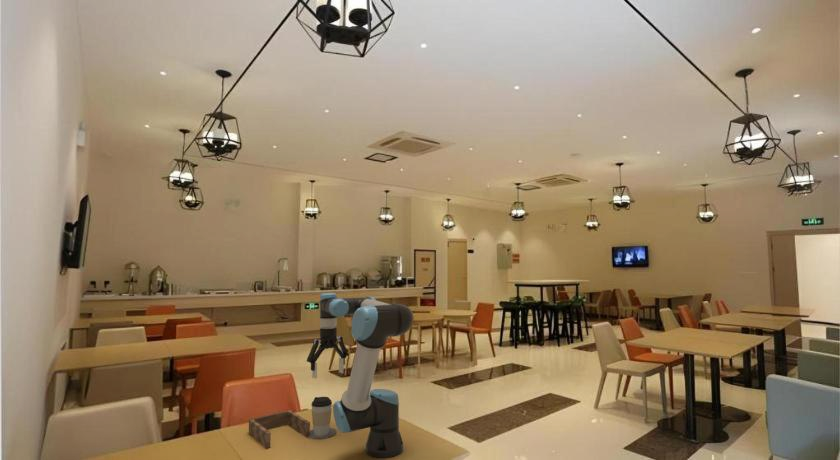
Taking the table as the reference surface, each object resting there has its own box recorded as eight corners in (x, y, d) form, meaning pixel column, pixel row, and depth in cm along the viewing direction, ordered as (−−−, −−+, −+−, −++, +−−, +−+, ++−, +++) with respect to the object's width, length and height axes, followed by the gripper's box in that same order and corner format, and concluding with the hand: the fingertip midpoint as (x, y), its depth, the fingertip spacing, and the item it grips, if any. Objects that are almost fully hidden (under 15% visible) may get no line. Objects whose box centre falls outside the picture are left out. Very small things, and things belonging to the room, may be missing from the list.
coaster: (340, 434, 189) (340, 432, 189) (316, 441, 181) (316, 440, 181) (327, 426, 198) (327, 425, 198) (303, 433, 190) (303, 431, 190)
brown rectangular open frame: (309, 436, 187) (309, 422, 187) (266, 448, 174) (267, 433, 175) (289, 422, 203) (289, 409, 203) (248, 433, 191) (248, 419, 191)
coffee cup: (335, 429, 192) (335, 395, 194) (326, 437, 184) (326, 401, 185) (316, 428, 194) (317, 394, 196) (307, 435, 186) (307, 400, 187)
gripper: (347, 324, 205) (347, 369, 203) (299, 329, 189) (298, 378, 187) (356, 325, 200) (356, 371, 198) (307, 331, 183) (306, 381, 181)
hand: (328, 375), depth 192 cm, fingers open, 13 cm apart
